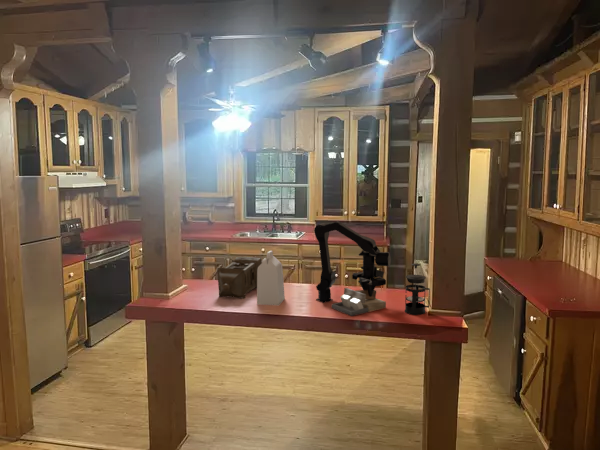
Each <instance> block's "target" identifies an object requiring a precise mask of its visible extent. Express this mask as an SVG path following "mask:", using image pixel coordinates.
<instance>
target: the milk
mask: <svg viewBox="0 0 600 450" xmlns="http://www.w3.org/2000/svg"><path fill="white" fill-rule="evenodd" d="M261 262H262V264H261V265H260V266H259V267H258V269H257V288H256V305H259V306H280V305H281V304H282V302H283V301H284V300H285V297H286V296H285V283H284V272H283V271H284V270H283V263H282V262H281V261H280V260H279V259H278V258H277V257H276V256H274V251H273V250H269V251H267V252H266V257H264V258H263V259H262V261H261Z"/></svg>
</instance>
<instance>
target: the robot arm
mask: <svg viewBox="0 0 600 450" xmlns="http://www.w3.org/2000/svg"><path fill="white" fill-rule="evenodd" d="M313 231H314V235H315V238H316V240H317V242H318V246H319V255H320V264H321V274H320V282H318V284H317V285H316V287H315V288H316V290H317V291H318V298H315V301H318V302H320V303H322V304H323V303H329V302H333V301H334V299H332V298H331V297H332V294H331V288H332V286H333V285H334V284H335V283H336V279H337V276H336V271H333V269H332V267H331V266H332V265H331V257H330V256H331V255H330V249H329V237H330V232H332V231H336V232H338V233H340V234H341V235H343V236H345V237H346V238H348V239H350V240H351V241H352V242H355V243H356V245H357V246H358V247H359V248H360V249H361V252H359V254H358V256H359V257H362V266H360V269H362V271H357V272H353V274H352V275H351V277H352V278H351V279H352V280H355V281H356V280H357V282H358V283H359V285H360V287H361V288H362V290H368V293H369V296H370V297H371V296H372V294H373V291H374V290H375V288H376V287H380V286H385V285H387V280H386V278H384V275H385V271H382V270H381V269H380V270H379V269H378V267H377V266H379V267H390V266H391V262H392V259H391V258H392V257H391V254H390V251H381V250H380V249H379V247H378V246H377V244H376V240H375V239H374V238H371V237H368V236H367V235H362V234H360V233H358V232H357V231H355V230H353V229H352V228H350V227H348V226H347V225H345V224H343V223H342V222H341V221H339V220H337V221H334V222H330V223H324V222H322V223H320V224H317V225H316V226H315V227H314V230H313ZM376 265H377V266H376ZM358 279H359V280H358Z"/></svg>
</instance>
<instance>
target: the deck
mask: <svg viewBox="0 0 600 450" xmlns="http://www.w3.org/2000/svg"><path fill="white" fill-rule="evenodd" d="M362 305H363V308H368V312H367V313H370V312H374V311H378V310H382V309H386V305H387V304H386V301H384V300H383V299H379V298H375V299H365V303H362Z"/></svg>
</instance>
